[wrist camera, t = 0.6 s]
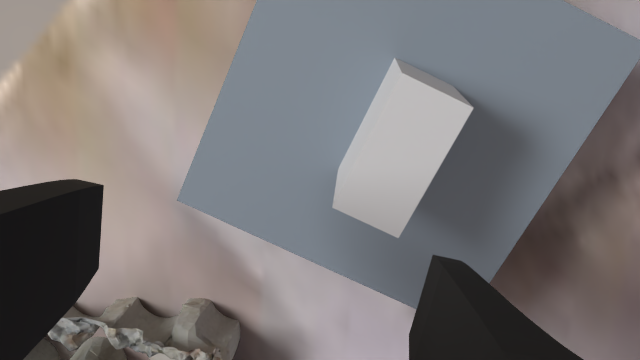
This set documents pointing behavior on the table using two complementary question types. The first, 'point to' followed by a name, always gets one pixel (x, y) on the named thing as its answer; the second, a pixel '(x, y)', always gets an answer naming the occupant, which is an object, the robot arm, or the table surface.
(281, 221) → the lid
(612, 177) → the table surface
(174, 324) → the egg carton
